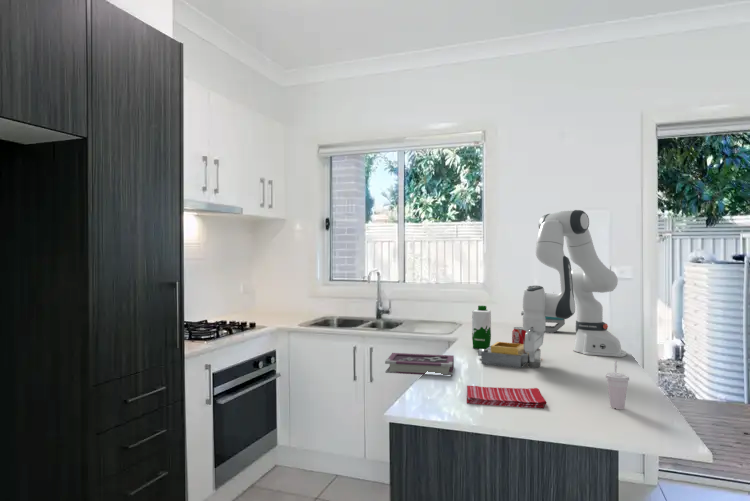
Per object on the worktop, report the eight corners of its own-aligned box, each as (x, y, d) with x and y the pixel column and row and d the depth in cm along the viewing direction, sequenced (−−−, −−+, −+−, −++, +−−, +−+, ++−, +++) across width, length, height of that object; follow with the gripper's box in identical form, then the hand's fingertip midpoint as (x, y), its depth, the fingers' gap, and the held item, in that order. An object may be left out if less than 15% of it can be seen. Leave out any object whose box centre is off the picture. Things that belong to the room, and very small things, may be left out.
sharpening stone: (566, 331, 285) (566, 313, 285) (566, 333, 278) (566, 314, 278) (521, 329, 294) (522, 311, 294) (521, 331, 286) (521, 312, 286)
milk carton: (491, 346, 239) (492, 305, 239) (489, 349, 231) (489, 307, 231) (474, 345, 242) (474, 305, 242) (470, 348, 234) (470, 306, 234)
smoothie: (601, 404, 148) (601, 358, 148) (621, 404, 149) (621, 358, 149) (613, 411, 142) (613, 363, 142) (634, 410, 142) (634, 363, 142)
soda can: (529, 356, 217) (529, 329, 217) (512, 355, 218) (512, 328, 218) (527, 353, 224) (527, 327, 224) (511, 352, 225) (511, 326, 225)
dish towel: (547, 411, 144) (547, 402, 144) (466, 405, 148) (466, 397, 148) (539, 394, 161) (539, 386, 161) (466, 390, 165) (466, 382, 165)
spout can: (541, 365, 199) (541, 348, 199) (539, 368, 194) (539, 351, 194) (525, 364, 201) (525, 347, 202) (523, 366, 197) (523, 349, 197)
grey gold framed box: (527, 361, 206) (527, 343, 206) (520, 368, 194) (520, 349, 194) (481, 356, 216) (481, 339, 216) (472, 362, 204) (472, 344, 204)
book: (385, 374, 186) (385, 361, 186) (392, 364, 202) (392, 352, 202) (452, 377, 181) (452, 364, 181) (453, 367, 197) (453, 355, 197)
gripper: (537, 330, 187) (537, 366, 187) (546, 323, 205) (546, 356, 205) (520, 328, 190) (520, 364, 190) (530, 322, 208) (530, 354, 208)
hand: (533, 359), depth 198 cm, fingers open, 5 cm apart
